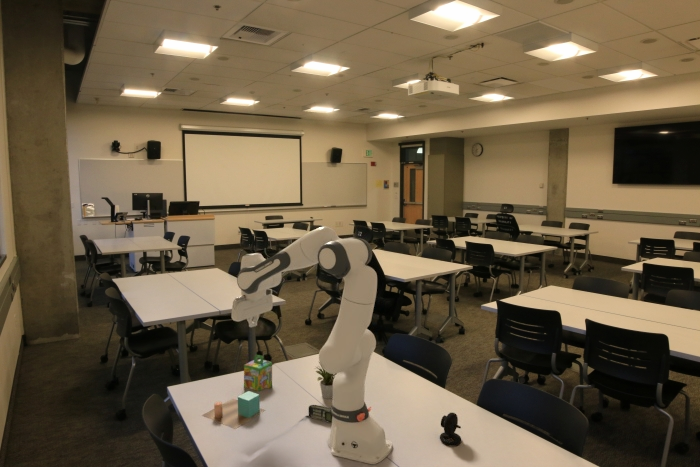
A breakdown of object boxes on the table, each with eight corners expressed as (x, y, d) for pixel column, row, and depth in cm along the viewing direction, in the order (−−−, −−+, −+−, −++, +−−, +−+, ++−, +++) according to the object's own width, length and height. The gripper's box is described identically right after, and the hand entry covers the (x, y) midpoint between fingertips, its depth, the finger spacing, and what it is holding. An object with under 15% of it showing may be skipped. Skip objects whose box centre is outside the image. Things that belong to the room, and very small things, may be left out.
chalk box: (243, 390, 196) (242, 357, 195) (257, 382, 204) (256, 350, 203) (260, 394, 192) (259, 361, 190) (273, 386, 200) (272, 354, 198)
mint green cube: (259, 411, 175) (259, 394, 174) (249, 418, 170) (248, 400, 169) (248, 407, 178) (248, 390, 177) (238, 414, 173) (237, 396, 172)
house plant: (329, 409, 180) (329, 370, 178) (303, 399, 188) (303, 361, 186) (350, 396, 191) (350, 359, 189) (325, 387, 199) (325, 351, 197)
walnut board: (265, 413, 176) (265, 410, 176) (235, 432, 163) (235, 428, 162) (233, 402, 185) (233, 398, 185) (201, 419, 172) (201, 415, 172)
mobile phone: (307, 406, 173) (342, 413, 167) (311, 402, 175) (345, 409, 170) (307, 418, 173) (343, 425, 167) (311, 415, 176) (346, 422, 170)
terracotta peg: (224, 415, 172) (224, 403, 171) (218, 419, 169) (217, 406, 169) (219, 413, 173) (218, 401, 173) (212, 416, 171) (212, 404, 170)
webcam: (445, 432, 163) (446, 405, 162) (465, 439, 159) (465, 412, 157) (435, 441, 157) (436, 414, 156) (455, 449, 153) (455, 421, 151)
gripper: (239, 299, 169) (239, 335, 171) (275, 289, 186) (275, 321, 188) (227, 297, 172) (228, 332, 174) (263, 287, 190) (264, 318, 191)
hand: (253, 326), depth 181 cm, fingers closed
